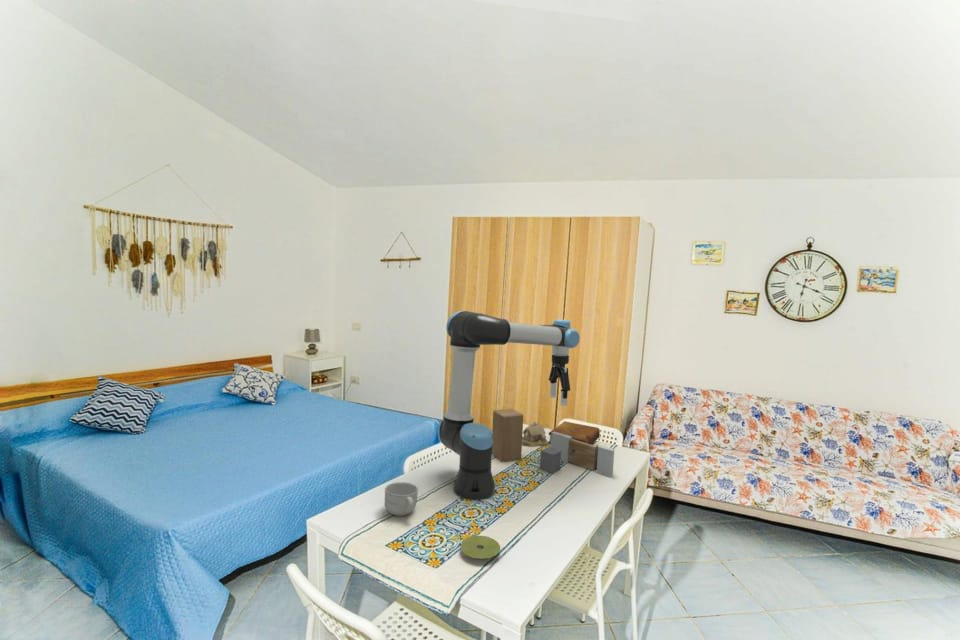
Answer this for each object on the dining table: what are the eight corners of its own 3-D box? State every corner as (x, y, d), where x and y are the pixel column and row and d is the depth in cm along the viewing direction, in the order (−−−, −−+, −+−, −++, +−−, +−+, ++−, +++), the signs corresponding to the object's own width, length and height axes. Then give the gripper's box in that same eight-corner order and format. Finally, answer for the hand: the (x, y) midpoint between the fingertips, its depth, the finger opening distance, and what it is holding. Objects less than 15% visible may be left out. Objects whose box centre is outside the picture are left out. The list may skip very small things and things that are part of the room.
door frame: (609, 477, 185) (611, 450, 184) (549, 456, 205) (551, 432, 204) (612, 475, 187) (614, 449, 186) (552, 455, 206) (554, 431, 205)
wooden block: (490, 453, 205) (492, 410, 203) (510, 451, 209) (512, 408, 208) (501, 462, 196) (503, 416, 194) (521, 459, 200) (523, 414, 198)
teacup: (381, 505, 155) (382, 482, 154) (413, 501, 159) (414, 478, 158) (388, 526, 142) (389, 501, 141) (423, 521, 146) (424, 497, 145)
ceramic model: (535, 436, 231) (536, 417, 230) (552, 443, 222) (553, 423, 221) (514, 442, 222) (515, 421, 221) (531, 449, 213) (532, 428, 212)
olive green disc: (487, 538, 138) (488, 531, 138) (507, 558, 128) (507, 552, 128) (453, 547, 132) (453, 540, 132) (471, 569, 123) (471, 562, 122)
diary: (586, 453, 213) (586, 440, 212) (548, 444, 222) (548, 433, 221) (599, 438, 233) (600, 427, 232) (563, 431, 242) (564, 420, 241)
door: (594, 472, 189) (596, 446, 188) (566, 462, 198) (568, 438, 197) (597, 470, 191) (599, 445, 190) (570, 461, 200) (571, 436, 199)
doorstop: (551, 473, 186) (552, 454, 186) (539, 469, 190) (540, 450, 190) (559, 469, 191) (561, 451, 190) (547, 465, 195) (548, 447, 194)
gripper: (579, 359, 193) (577, 409, 195) (558, 349, 217) (556, 394, 219) (562, 359, 191) (560, 409, 193) (543, 349, 216) (541, 394, 218)
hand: (558, 401), depth 206 cm, fingers open, 13 cm apart
